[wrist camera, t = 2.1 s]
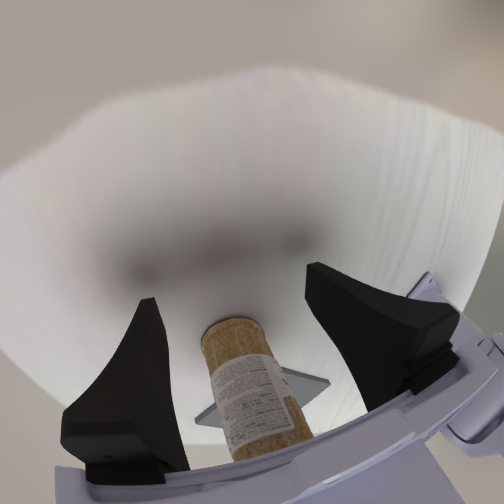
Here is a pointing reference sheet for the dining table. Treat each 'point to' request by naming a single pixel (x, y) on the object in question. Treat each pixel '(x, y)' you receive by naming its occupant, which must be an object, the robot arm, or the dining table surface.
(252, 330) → the sprinkles bottle
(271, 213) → the dining table surface
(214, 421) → the coaster
